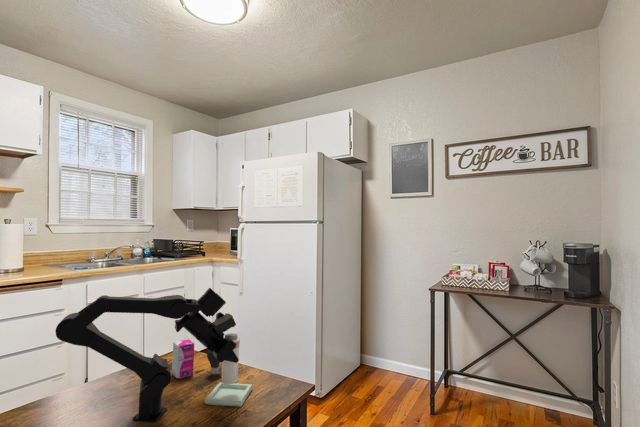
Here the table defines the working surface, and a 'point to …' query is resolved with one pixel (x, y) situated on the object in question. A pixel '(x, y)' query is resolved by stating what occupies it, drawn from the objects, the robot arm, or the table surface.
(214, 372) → the light bulb
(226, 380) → the bottle
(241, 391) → the tray
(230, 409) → the table surface
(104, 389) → the table surface
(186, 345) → the supplement box
